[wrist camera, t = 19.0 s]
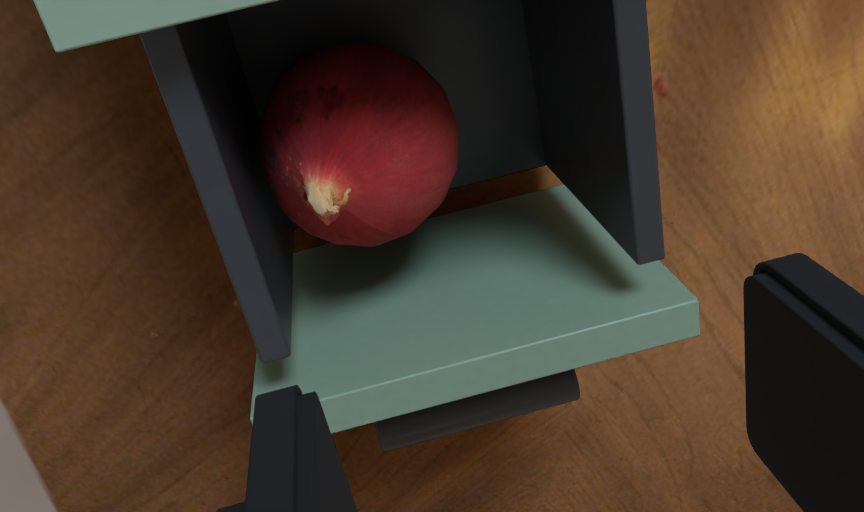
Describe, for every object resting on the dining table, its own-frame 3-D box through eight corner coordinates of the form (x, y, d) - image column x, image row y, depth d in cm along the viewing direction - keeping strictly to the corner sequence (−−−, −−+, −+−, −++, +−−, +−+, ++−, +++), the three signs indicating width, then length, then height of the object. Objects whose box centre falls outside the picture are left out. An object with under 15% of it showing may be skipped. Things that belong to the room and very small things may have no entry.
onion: (289, 152, 27) (180, 249, 20) (334, -6, 24) (226, 43, 17) (439, 215, 27) (383, 336, 20) (502, 65, 24) (462, 143, 17)
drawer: (595, 301, 32) (707, 454, 23) (305, 377, 31) (307, 565, 22) (531, -217, 23) (668, -287, 15) (132, -127, 23) (25, -141, 14)
